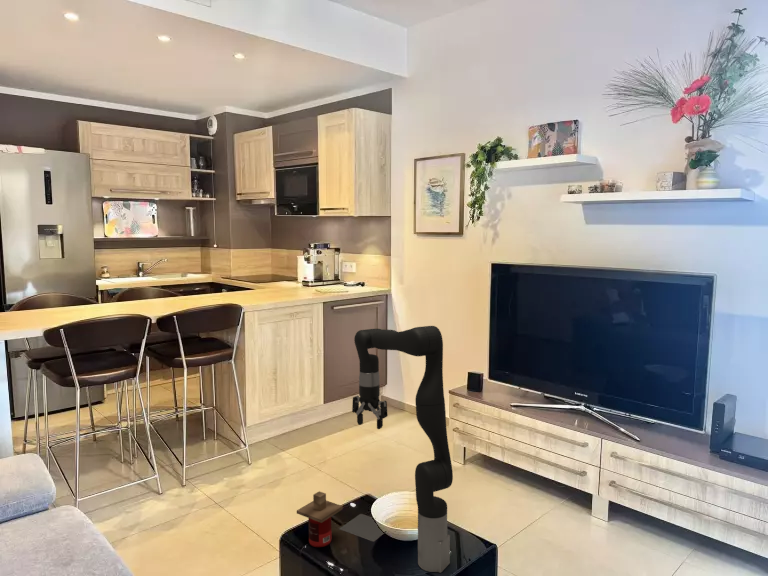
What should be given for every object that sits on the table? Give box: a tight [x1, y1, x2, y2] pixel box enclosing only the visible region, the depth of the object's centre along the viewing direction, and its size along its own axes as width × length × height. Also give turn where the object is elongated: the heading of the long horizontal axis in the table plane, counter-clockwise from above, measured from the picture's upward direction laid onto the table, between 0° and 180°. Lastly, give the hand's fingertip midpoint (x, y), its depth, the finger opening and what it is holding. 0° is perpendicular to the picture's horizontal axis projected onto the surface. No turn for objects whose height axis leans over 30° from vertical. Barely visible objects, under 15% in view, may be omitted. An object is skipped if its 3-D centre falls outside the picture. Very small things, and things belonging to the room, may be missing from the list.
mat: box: [339, 513, 385, 543], centre depth 191 cm, size 15×13×1 cm
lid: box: [296, 490, 344, 523], centre depth 181 cm, size 11×11×6 cm
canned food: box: [307, 516, 333, 548], centre depth 182 cm, size 8×8×11 cm
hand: (369, 426), depth 197 cm, fingers open, 8 cm apart
